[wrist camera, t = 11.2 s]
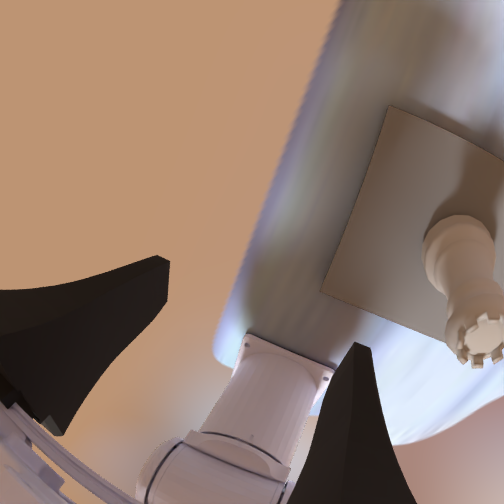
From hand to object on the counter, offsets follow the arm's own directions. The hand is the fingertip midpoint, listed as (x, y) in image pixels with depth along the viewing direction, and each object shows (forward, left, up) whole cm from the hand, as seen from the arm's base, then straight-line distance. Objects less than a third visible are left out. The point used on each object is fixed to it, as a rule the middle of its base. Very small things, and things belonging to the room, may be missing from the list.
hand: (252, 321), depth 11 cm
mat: (+2, -9, -10) cm, 13 cm away
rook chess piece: (+2, -9, -9) cm, 13 cm away
